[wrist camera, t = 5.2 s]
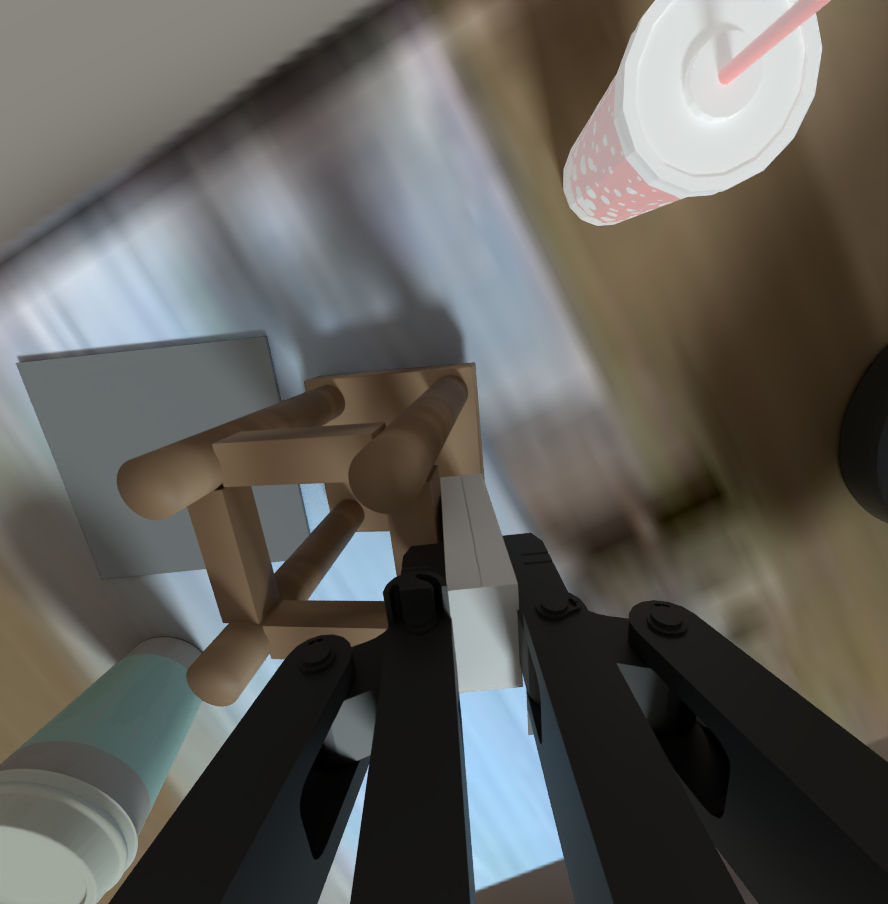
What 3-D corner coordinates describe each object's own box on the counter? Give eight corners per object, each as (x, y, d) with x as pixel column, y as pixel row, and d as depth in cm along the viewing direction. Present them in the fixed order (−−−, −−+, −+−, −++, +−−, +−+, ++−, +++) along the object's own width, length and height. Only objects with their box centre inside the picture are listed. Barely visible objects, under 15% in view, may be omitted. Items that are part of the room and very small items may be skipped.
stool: (475, 362, 23) (427, 429, 10) (487, 513, 25) (462, 728, 12) (319, 376, 24) (93, 449, 11) (346, 517, 27) (189, 711, 14)
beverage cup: (559, 256, 23) (740, 160, 9) (537, 125, 21) (720, -228, 7) (673, 223, 22) (1033, 73, 9) (660, 87, 20) (1086, -358, 7)
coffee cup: (87, 634, 29) (-139, 836, 18) (203, 608, 29) (48, 798, 17) (142, 725, 32) (-25, 954, 20) (249, 702, 31) (141, 923, 20)
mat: (266, 336, 23) (264, 336, 23) (315, 555, 28) (313, 558, 27) (20, 362, 24) (15, 363, 23) (105, 576, 28) (102, 579, 27)
